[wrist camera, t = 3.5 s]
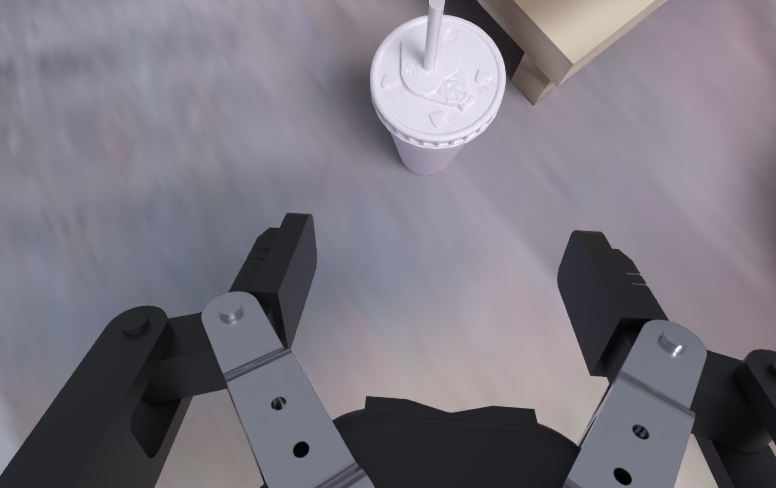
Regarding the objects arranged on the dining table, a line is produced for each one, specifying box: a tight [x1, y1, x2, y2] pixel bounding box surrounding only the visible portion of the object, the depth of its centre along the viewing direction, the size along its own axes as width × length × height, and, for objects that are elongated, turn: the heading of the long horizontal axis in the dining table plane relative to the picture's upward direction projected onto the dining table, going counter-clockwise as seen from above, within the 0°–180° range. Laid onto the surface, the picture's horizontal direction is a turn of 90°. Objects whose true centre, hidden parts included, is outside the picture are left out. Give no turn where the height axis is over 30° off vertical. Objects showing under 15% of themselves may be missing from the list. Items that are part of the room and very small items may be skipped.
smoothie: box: [370, 0, 506, 176], centre depth 22 cm, size 6×6×14 cm
